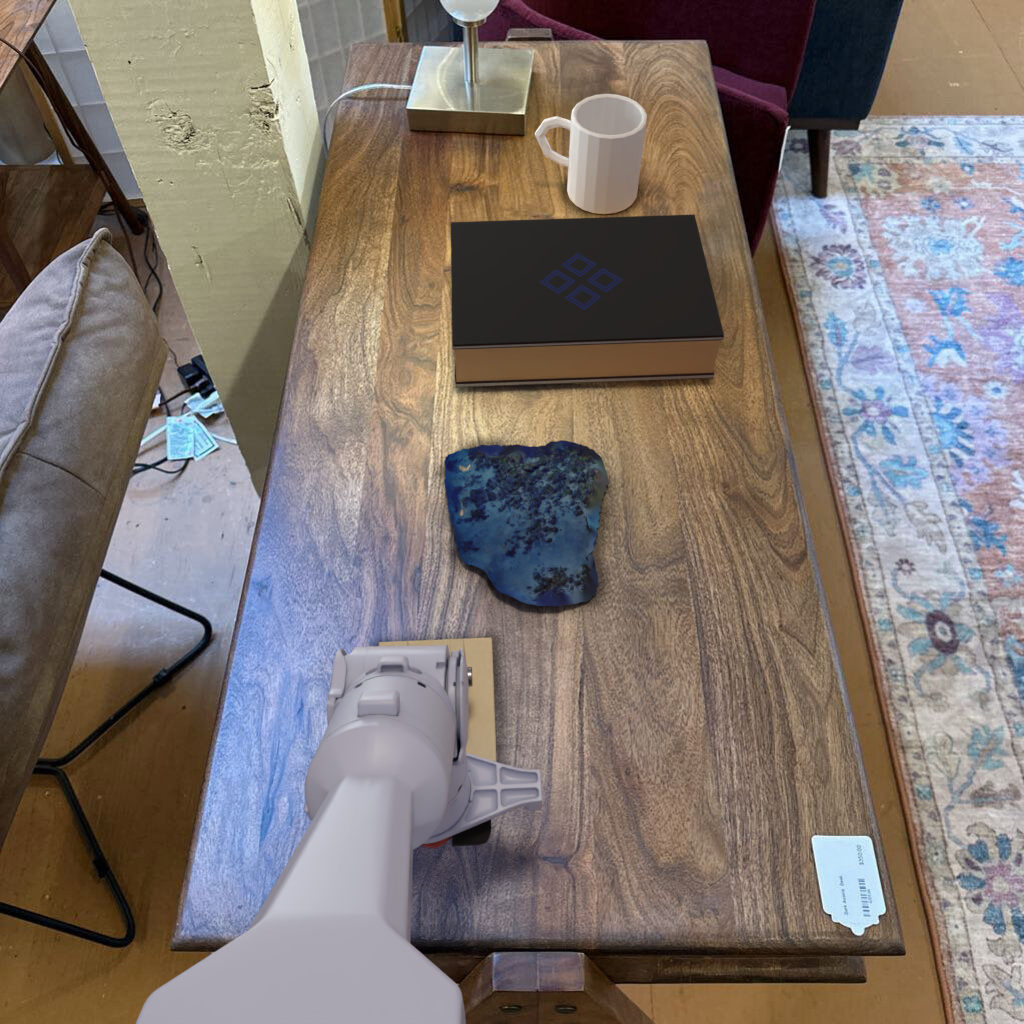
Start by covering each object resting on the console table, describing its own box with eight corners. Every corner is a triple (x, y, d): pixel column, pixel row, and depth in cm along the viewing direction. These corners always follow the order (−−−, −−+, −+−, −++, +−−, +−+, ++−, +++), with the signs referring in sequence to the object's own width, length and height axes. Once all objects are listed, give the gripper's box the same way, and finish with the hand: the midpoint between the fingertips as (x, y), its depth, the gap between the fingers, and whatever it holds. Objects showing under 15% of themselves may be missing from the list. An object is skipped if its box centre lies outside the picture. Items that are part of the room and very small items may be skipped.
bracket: (497, 778, 68) (495, 740, 62) (375, 783, 68) (360, 746, 62) (492, 643, 74) (490, 596, 68) (380, 648, 74) (367, 601, 68)
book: (454, 272, 99) (450, 221, 94) (684, 264, 100) (694, 213, 94) (455, 393, 90) (452, 344, 84) (711, 384, 90) (724, 335, 85)
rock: (607, 451, 85) (609, 438, 84) (604, 616, 76) (605, 605, 74) (449, 444, 86) (448, 431, 85) (427, 607, 77) (424, 596, 75)
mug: (538, 165, 110) (540, 87, 102) (639, 174, 109) (649, 96, 101) (529, 208, 105) (530, 130, 97) (634, 217, 104) (644, 139, 96)
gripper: (539, 695, 56) (535, 770, 67) (297, 706, 55) (334, 779, 66) (546, 813, 52) (541, 872, 63) (286, 825, 51) (327, 882, 62)
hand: (434, 831), depth 64 cm, fingers closed on lever, 3 cm apart
